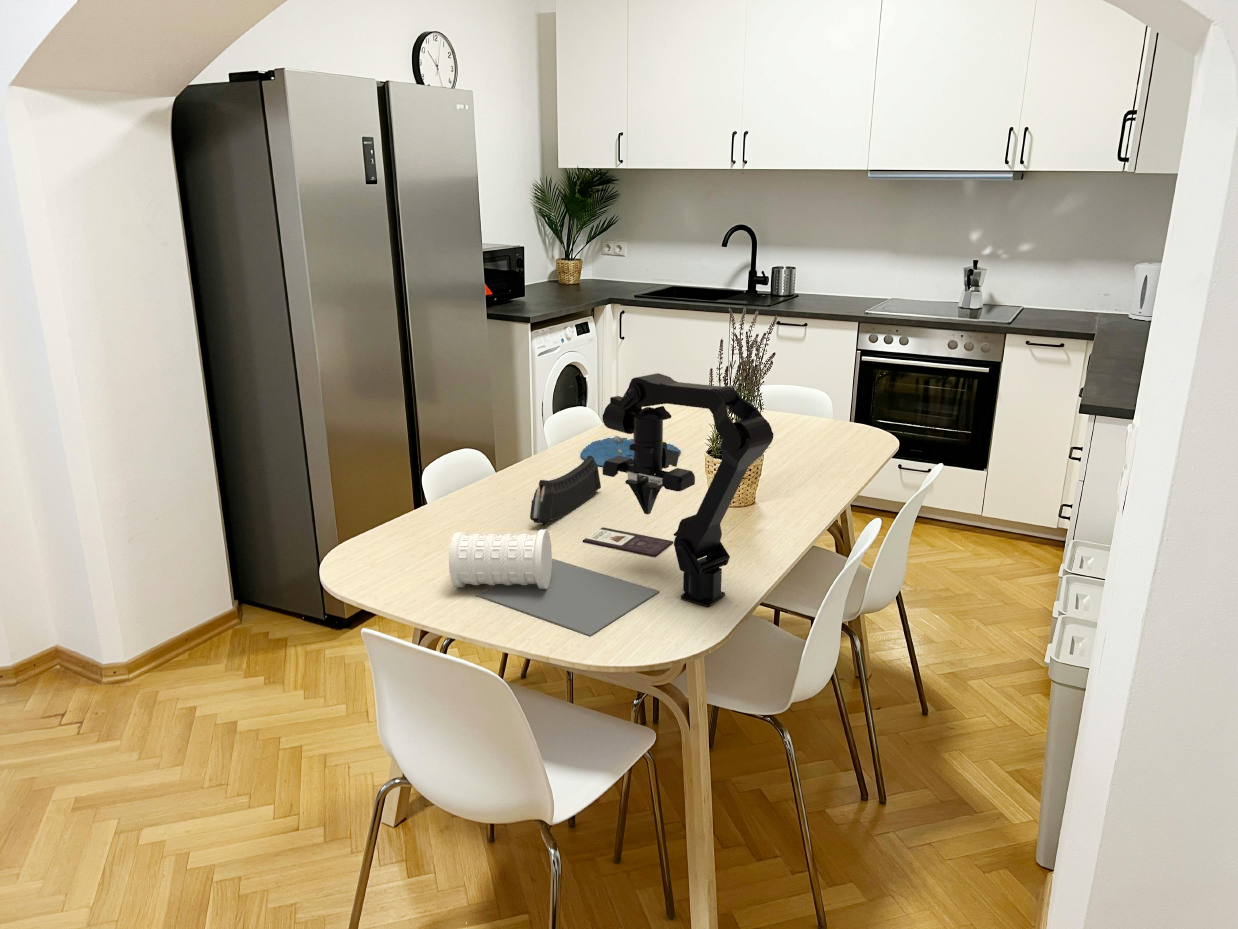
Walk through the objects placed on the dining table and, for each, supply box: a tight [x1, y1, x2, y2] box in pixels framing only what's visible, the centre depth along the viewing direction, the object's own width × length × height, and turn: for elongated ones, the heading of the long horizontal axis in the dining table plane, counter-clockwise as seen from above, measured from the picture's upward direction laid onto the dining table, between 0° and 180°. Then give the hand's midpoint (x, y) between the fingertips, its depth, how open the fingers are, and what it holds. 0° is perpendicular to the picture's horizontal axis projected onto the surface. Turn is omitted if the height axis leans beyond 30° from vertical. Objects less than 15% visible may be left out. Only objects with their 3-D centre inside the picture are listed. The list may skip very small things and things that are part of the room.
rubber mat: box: [475, 558, 660, 637], centre depth 173 cm, size 28×22×1 cm
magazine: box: [529, 456, 602, 527], centre depth 218 cm, size 17×3×30 cm
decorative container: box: [448, 529, 553, 589], centre depth 176 cm, size 12×12×18 cm
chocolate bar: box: [582, 526, 674, 558], centre depth 198 cm, size 9×1×18 cm
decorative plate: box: [580, 435, 682, 467], centre depth 263 cm, size 30×30×5 cm
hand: (647, 513), depth 179 cm, fingers closed
